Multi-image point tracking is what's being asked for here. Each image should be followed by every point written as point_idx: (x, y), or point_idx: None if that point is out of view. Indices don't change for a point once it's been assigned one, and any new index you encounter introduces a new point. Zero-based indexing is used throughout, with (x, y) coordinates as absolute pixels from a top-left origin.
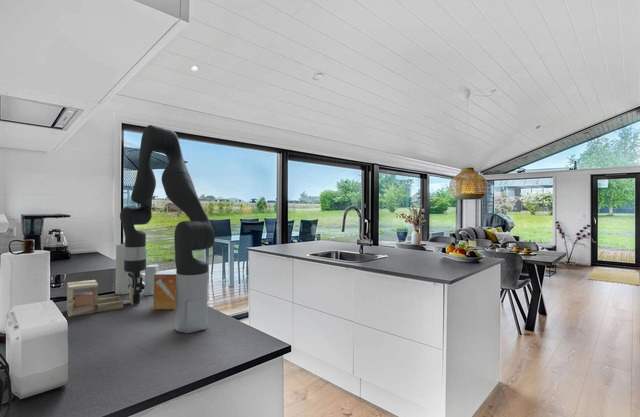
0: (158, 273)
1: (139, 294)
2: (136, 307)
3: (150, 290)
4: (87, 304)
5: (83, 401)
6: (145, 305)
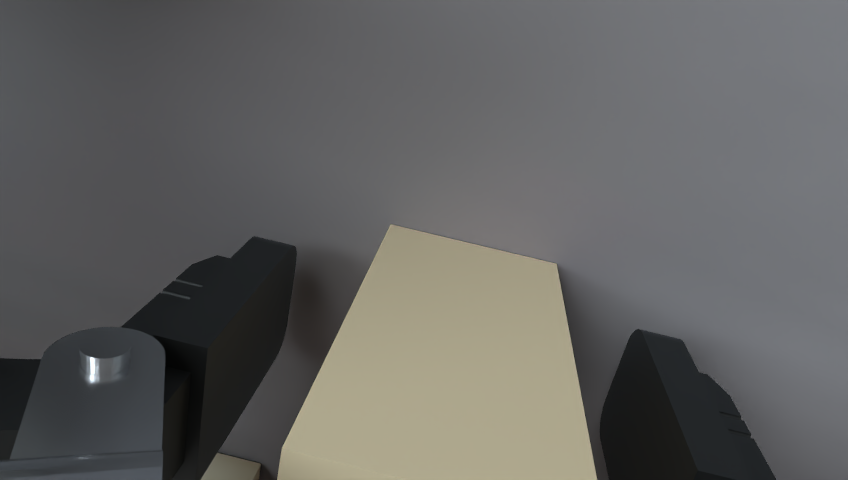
0: None
1: (741, 474)
2: (794, 427)
3: None
4: None
5: None
6: (832, 267)
